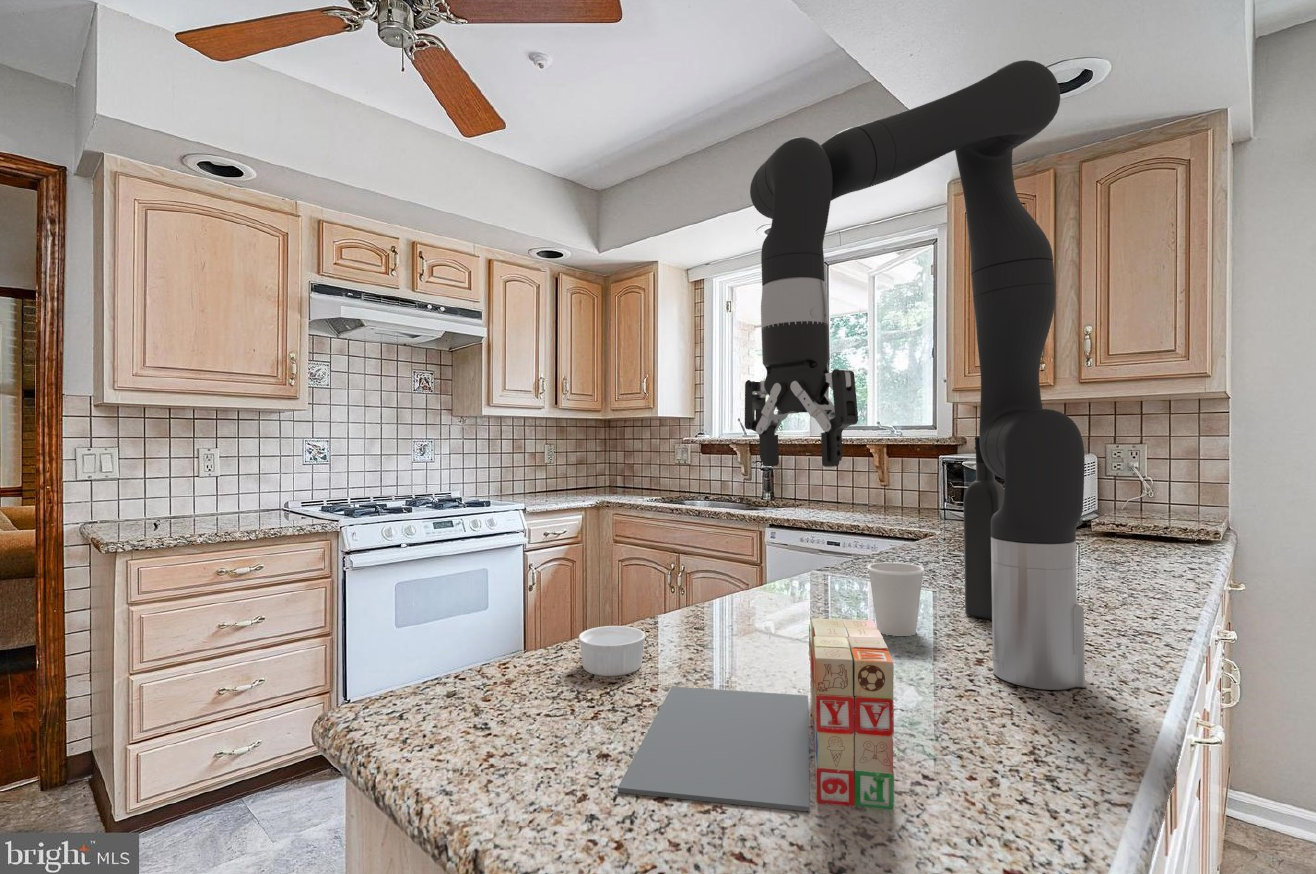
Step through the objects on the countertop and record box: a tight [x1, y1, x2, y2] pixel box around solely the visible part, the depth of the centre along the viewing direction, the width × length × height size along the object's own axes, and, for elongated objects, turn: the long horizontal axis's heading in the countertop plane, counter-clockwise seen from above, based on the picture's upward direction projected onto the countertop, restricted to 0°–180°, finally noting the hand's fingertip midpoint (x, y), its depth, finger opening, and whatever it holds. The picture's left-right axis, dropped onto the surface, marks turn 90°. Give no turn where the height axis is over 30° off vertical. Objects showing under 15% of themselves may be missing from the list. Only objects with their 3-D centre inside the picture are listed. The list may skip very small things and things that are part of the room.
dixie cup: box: [866, 561, 925, 637], centre depth 104 cm, size 8×8×10 cm
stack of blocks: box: [808, 618, 895, 810], centre depth 65 cm, size 21×6×12 cm, turn 169°
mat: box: [617, 686, 810, 813], centre depth 67 cm, size 16×24×1 cm, turn 168°
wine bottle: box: [962, 436, 1004, 621], centre depth 112 cm, size 6×6×30 cm
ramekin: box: [578, 625, 646, 677], centre depth 90 cm, size 9×9×4 cm
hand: (799, 466), depth 76 cm, fingers open, 8 cm apart
